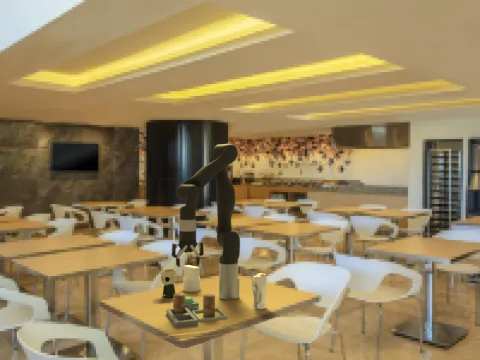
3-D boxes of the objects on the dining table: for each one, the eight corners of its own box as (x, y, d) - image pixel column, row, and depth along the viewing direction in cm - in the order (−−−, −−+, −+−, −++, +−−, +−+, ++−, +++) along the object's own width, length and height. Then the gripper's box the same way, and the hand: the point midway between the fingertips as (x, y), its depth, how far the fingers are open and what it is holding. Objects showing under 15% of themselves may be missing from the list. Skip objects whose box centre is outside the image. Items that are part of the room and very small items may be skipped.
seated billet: (183, 313, 197) (183, 292, 197) (186, 317, 192) (186, 295, 192) (172, 314, 195) (172, 293, 195) (174, 318, 190) (174, 296, 190)
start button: (191, 307, 207) (191, 296, 207) (193, 310, 203) (193, 299, 203) (181, 308, 206) (181, 297, 205) (184, 311, 201) (184, 300, 201)
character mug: (156, 296, 227) (155, 270, 226) (166, 293, 233) (166, 267, 232) (171, 299, 220) (171, 273, 220) (182, 296, 226) (182, 270, 226)
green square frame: (218, 312, 202) (218, 307, 202) (227, 320, 191) (227, 315, 191) (191, 315, 198) (191, 310, 198) (199, 324, 187) (199, 319, 186)
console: (193, 307, 209) (193, 298, 209) (198, 312, 202) (198, 303, 202) (176, 308, 207) (176, 300, 206) (181, 314, 199) (181, 305, 199)
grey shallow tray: (166, 316, 196) (166, 309, 196) (186, 313, 200) (186, 307, 199) (176, 330, 180) (176, 322, 179) (198, 327, 183) (198, 319, 183)
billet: (212, 314, 198) (212, 293, 197) (216, 317, 193) (216, 296, 193) (201, 315, 196) (201, 294, 195) (205, 319, 191) (205, 297, 191)
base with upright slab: (203, 289, 240) (203, 266, 240) (191, 292, 234) (191, 269, 233) (192, 286, 246) (192, 264, 246) (179, 289, 239) (179, 266, 239)
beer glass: (251, 305, 212) (251, 273, 212) (266, 305, 213) (266, 273, 213) (252, 309, 205) (253, 276, 205) (268, 309, 206) (268, 276, 206)
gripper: (200, 227, 209) (200, 263, 210) (170, 229, 204) (170, 265, 205) (205, 229, 202) (205, 266, 203) (173, 231, 197) (173, 268, 198)
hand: (187, 265), depth 204 cm, fingers open, 8 cm apart
